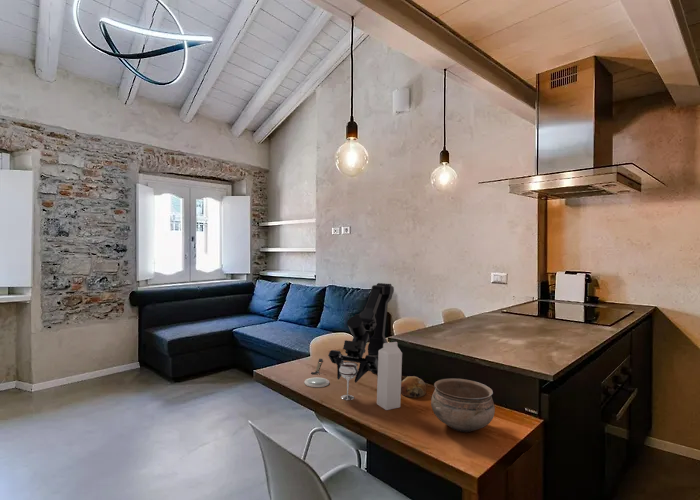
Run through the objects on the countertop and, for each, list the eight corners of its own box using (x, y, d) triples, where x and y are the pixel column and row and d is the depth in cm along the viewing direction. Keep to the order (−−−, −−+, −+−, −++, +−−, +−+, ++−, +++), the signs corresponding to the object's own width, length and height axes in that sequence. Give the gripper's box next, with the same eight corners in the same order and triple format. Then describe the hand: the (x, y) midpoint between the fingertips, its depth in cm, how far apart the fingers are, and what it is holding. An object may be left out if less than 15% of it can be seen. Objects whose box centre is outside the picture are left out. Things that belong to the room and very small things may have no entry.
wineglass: (354, 393, 145) (355, 361, 145) (358, 400, 138) (359, 366, 138) (336, 394, 143) (337, 362, 143) (340, 401, 137) (341, 367, 137)
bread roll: (427, 402, 149) (430, 380, 152) (421, 399, 140) (424, 376, 143) (402, 397, 153) (405, 376, 156) (395, 393, 144) (398, 371, 147)
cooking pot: (458, 407, 135) (459, 372, 135) (510, 427, 121) (512, 388, 121) (411, 426, 119) (412, 387, 119) (465, 452, 104) (467, 407, 104)
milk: (400, 407, 133) (403, 343, 133) (385, 410, 130) (388, 345, 130) (390, 401, 139) (392, 339, 139) (376, 403, 136) (378, 341, 136)
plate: (326, 378, 161) (326, 376, 161) (331, 386, 152) (331, 384, 152) (302, 379, 158) (302, 377, 158) (306, 388, 149) (306, 386, 149)
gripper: (331, 328, 148) (316, 365, 138) (377, 334, 141) (365, 373, 131) (339, 345, 155) (325, 380, 145) (383, 351, 148) (372, 389, 138)
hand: (346, 380), depth 140 cm, fingers closed on wineglass, 6 cm apart
